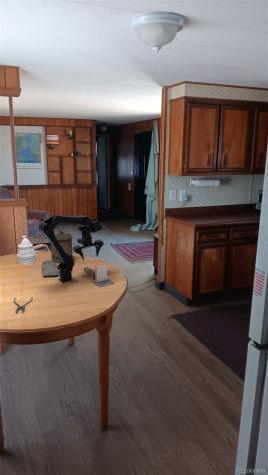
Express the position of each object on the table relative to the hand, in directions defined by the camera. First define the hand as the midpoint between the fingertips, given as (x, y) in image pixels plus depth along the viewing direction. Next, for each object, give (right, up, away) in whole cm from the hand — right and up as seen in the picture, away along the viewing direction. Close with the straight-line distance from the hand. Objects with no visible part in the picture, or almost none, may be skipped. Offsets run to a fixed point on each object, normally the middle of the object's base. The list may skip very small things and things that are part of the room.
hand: (90, 258), depth 218 cm
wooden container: (-24, -3, +32) cm, 40 cm away
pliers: (-28, -21, -43) cm, 55 cm away
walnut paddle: (+1, -11, -1) cm, 11 cm away
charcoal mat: (+9, -14, -13) cm, 21 cm away
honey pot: (-49, -4, +28) cm, 56 cm away
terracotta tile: (+8, -12, -10) cm, 18 cm away
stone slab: (-28, -9, +10) cm, 31 cm away
